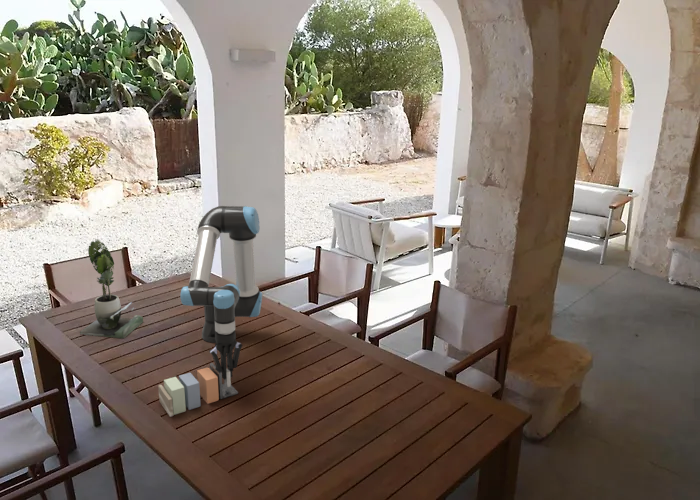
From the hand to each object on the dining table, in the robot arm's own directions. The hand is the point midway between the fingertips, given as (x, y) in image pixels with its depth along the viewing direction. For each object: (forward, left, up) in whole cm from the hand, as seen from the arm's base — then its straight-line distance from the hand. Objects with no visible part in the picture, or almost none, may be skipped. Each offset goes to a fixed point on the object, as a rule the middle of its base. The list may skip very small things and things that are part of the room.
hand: (227, 385), depth 225 cm
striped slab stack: (+16, -1, -3) cm, 16 cm away
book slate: (+15, 0, -3) cm, 15 cm away
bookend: (+1, 0, -2) cm, 3 cm away
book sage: (+21, 0, -3) cm, 21 cm away
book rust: (+8, 0, -3) cm, 8 cm away
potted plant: (+23, -82, -3) cm, 85 cm away
